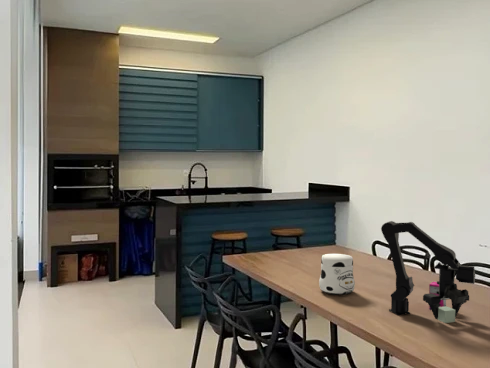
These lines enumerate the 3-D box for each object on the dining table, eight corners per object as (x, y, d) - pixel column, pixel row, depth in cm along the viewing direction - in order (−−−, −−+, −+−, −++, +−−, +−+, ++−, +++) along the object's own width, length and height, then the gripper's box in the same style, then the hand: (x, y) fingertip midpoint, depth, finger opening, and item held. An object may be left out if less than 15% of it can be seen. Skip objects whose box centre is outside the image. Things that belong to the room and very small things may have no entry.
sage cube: (445, 323, 186) (445, 311, 186) (436, 319, 191) (436, 307, 190) (455, 322, 187) (455, 309, 187) (446, 318, 192) (446, 306, 192)
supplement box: (432, 306, 208) (433, 281, 207) (446, 308, 204) (447, 283, 203) (428, 309, 203) (429, 283, 203) (442, 312, 199) (443, 286, 199)
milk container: (352, 299, 218) (352, 261, 217) (315, 295, 224) (316, 258, 223) (356, 289, 234) (357, 254, 233) (322, 286, 240) (323, 252, 239)
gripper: (441, 287, 178) (440, 326, 178) (480, 283, 183) (479, 322, 184) (422, 280, 188) (421, 317, 189) (459, 276, 194) (458, 313, 195)
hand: (445, 317), depth 189 cm, fingers open, 9 cm apart
